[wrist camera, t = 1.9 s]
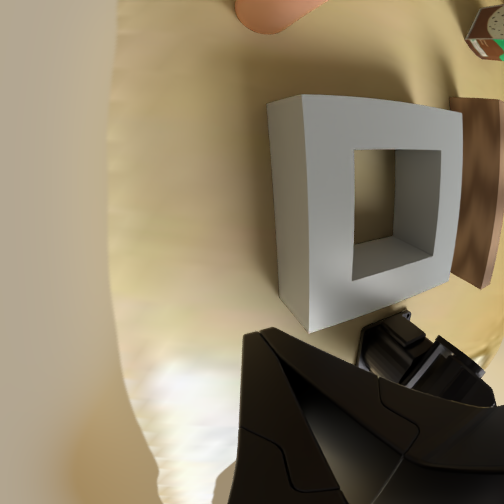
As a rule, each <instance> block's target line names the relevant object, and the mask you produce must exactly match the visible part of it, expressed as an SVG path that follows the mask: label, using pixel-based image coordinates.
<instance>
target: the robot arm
mask: <svg viewBox="0 0 504 504" xmlns="http://www.w3.org/2000/svg"><path fill="white" fill-rule="evenodd" d="M410 317H411V312H410V311H408V310H406V311H404V312H401V313H399V314H396V315H394V316H392V317H389V318H387V319H384V320H382V321H379V322H377V323H374V324H371V325H369V326H366V327H364V328H363V330H362V332H361V338H360V344H359V351H358V357H357V363H356V366H355V365H353V364H351V363H348V362H346V361H344V360H342V359H340V358H337V357H335V356H333V355H331V354H329V353H327V352H324V351H322V350H320V349H318V348H316V347H314V346H312V345H310V344H307V343H305V342H303V341H301V340H299V339H297V338H295V337H293V336H291V335H289V334H287V333H285V332H283V331H281V330H279V329H277V328H274V327H271V328H267V329H263V330H260V331H259V332H252V333H248V334H244V335H243V345H242V366H241V388H240V410H239V430H238V447H237V458H236V465H235V472H234V477H233V482H232V486H231V491H230V495H229V499H228V504H504V405H501V406H496V401H495V398H494V394H493V390H492V389H491V387H490V386H489V385H488V384H486V383H485V382H484V381H483V380H482V379H481V378H482V376H483V375H484V374H485V371H484V370H483V369H482V368H481V367H480V366H479V365H478V364H476V363H475V362H474V361H473V360H472V359H471V358H469V357H468V356H467V355H465V354H464V353H463V352H461V351H460V350H459V349H457V348H456V347H455V346H453V345H452V344H451V343H449V342H448V341H446V340H445V339H444V338H442V337H441V336H440V335H438V336H437V338H436V339H435V340H436V341H435V342H434V343H433V342H431V341H430V340H429V339H428V338H426V337H425V336H426V334H425V333H424V332H423V331H422V330H421V329H419V328H418V327H417V326H415V325H414V324H413V323H412V322H410Z"/></svg>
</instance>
